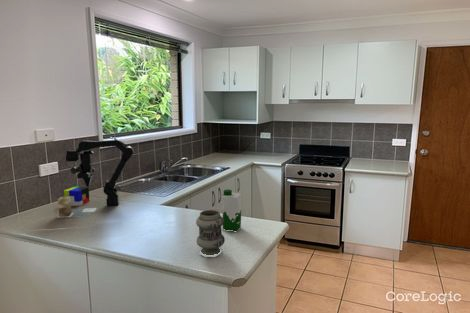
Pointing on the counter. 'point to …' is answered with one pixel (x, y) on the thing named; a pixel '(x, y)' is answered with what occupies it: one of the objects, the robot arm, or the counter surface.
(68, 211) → the walnut cube
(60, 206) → the maple cube
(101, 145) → the robot arm
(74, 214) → the mat
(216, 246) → the apothecary jar
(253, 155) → the counter surface
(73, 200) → the puzzle toy
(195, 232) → the counter surface
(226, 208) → the milk carton
